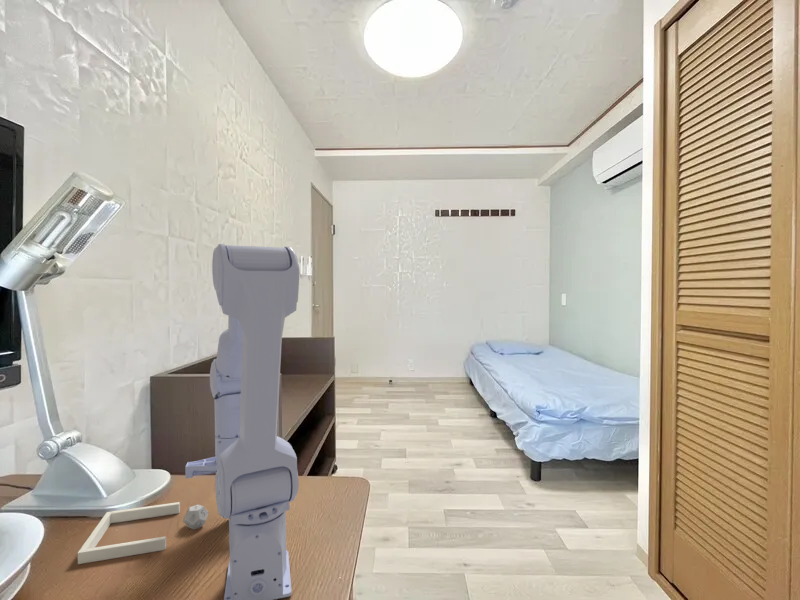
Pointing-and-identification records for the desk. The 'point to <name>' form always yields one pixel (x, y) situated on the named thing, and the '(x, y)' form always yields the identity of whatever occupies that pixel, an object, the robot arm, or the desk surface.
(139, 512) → the bay
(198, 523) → the game die
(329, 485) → the desk surface
